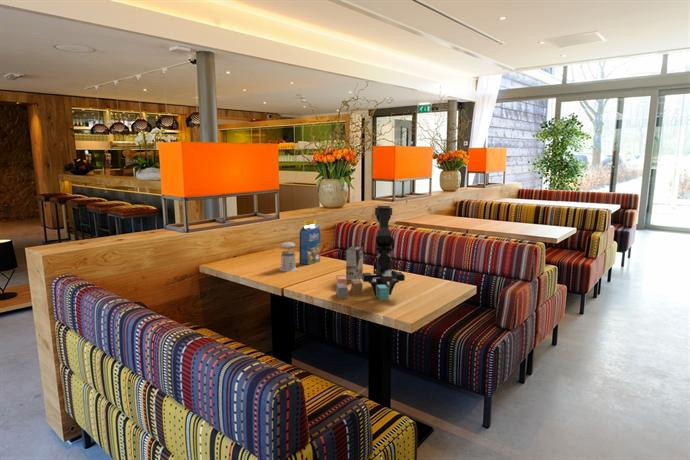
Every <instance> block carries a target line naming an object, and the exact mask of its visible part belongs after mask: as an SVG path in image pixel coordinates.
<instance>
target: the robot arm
mask: <svg viewBox="0 0 690 460" xmlns="http://www.w3.org/2000/svg"><path fill="white" fill-rule="evenodd" d="M374 216H376V217H375V219H376V221H377V222H378V230H377V232H376V233H377V234H376V236H375V251H376V252H377V254H376V257H375V259H374V261H373V270H372V271H373V274H372V273H371V272H363V274H362V277H361V280H362V281H363V282H364V283H368V284H370V286H371V287H372V291H373V295H374V296H375V297H377V295H376V290H377V285H386V286H387V287H388V289H389V296H391V295H392V291H393V289H394V288H395V286H396V285H397V283H400V282H404V281H406V277H405V274H404V273H403V272H402V271H397V269H395V270H394V269H393V265H392V259H391V252H394V249H395V239H394V236H392V231H391V230H390V229H389V226H390V225H389V224H390V223H389V221H390V220H391V218H392V217H391V216H393V208H392V207H391V206H390V205H377V207H374ZM388 283H389V284H388Z"/></svg>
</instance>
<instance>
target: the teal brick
mask: <svg viewBox="0 0 690 460" xmlns="http://www.w3.org/2000/svg"><path fill="white" fill-rule="evenodd" d="M376 297H377V298H378V300H379V301H389V299H390V295H389V287H387V286H386V285H377V287H376Z"/></svg>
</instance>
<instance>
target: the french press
mask: <svg viewBox="0 0 690 460" xmlns="http://www.w3.org/2000/svg"><path fill="white" fill-rule="evenodd" d="M290 227H291V226H290V224H286V228H290ZM295 246H296V243H294V242H292V241H285V242H282V243H281V244H280V247H283V248H288V250H283V251H281V253H282V254H281V255H280V258H281V259H280V260H281V261H280V263H281V264H280V265H281V267H280V268H279V271H281V272H295V271H297V270H298V268H297V267H296V254H295V251H294V249H293V248H294V247H295ZM289 248H291V250H290V249H289Z"/></svg>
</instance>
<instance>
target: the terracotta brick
mask: <svg viewBox="0 0 690 460" xmlns="http://www.w3.org/2000/svg"><path fill="white" fill-rule="evenodd" d="M335 277H336V278H335V279H336V281H335V282H336V284H340V283H345V284H346V286H347V287H348V285H347V284H348V280H347V278H346V274H337V275H336V276H335Z"/></svg>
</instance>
